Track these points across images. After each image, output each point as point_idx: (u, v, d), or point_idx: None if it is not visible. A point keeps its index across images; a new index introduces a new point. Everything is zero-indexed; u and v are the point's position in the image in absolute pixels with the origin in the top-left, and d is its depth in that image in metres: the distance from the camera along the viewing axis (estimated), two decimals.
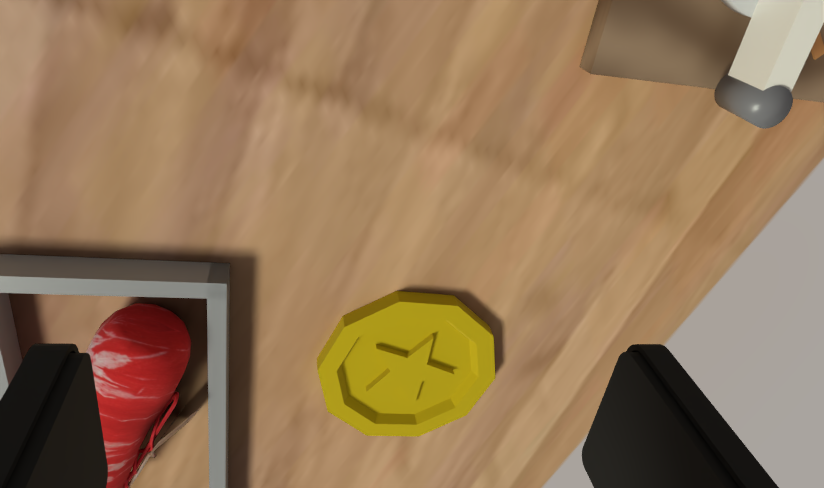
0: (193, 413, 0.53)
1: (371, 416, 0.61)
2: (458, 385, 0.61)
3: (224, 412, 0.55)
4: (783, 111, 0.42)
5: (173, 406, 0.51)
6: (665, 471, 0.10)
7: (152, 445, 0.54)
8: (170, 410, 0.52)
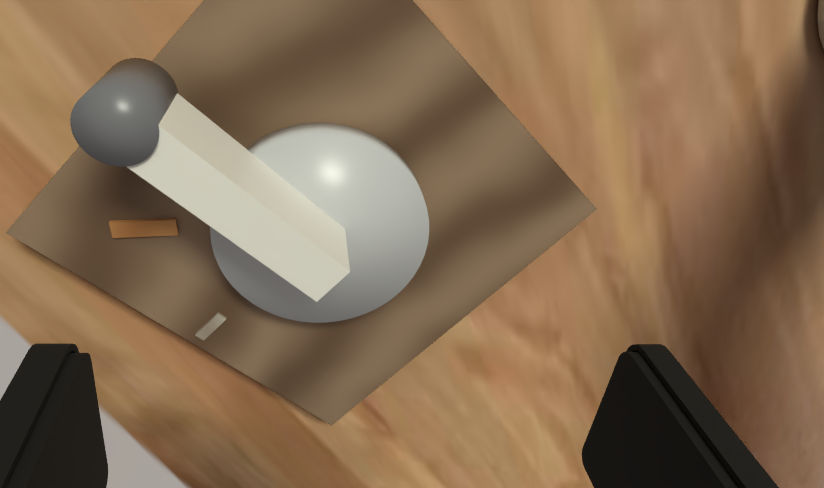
0: None
1: None
2: None
3: None
4: (94, 145, 0.23)
5: None
6: (665, 471, 0.10)
7: None
8: None
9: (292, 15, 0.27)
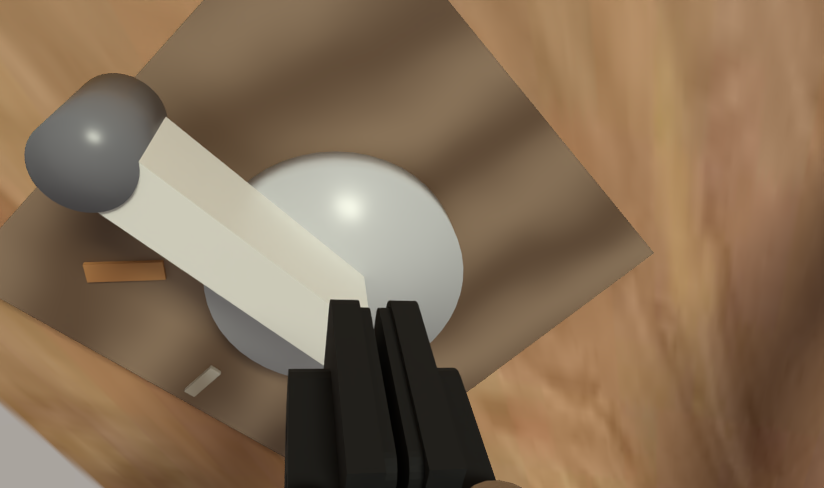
0: None
1: None
2: None
3: None
4: (56, 186, 0.18)
5: None
6: None
7: None
8: None
9: (308, 23, 0.22)
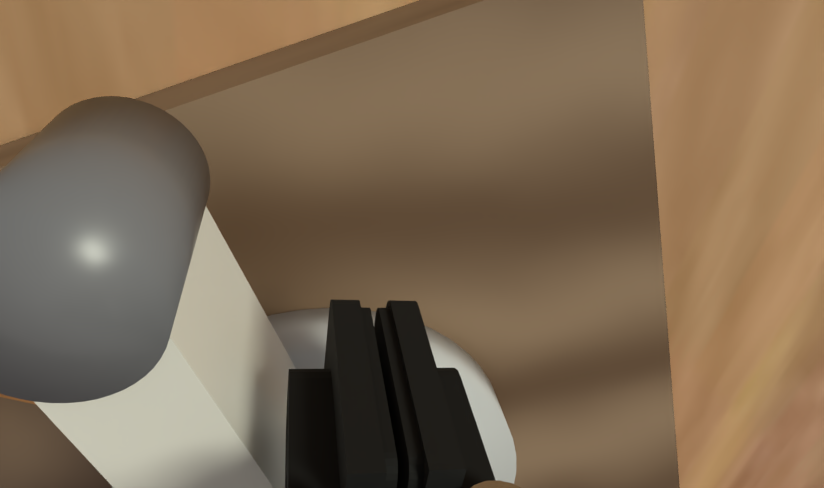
0: None
1: None
2: None
3: None
4: None
5: None
6: None
7: None
8: None
9: (473, 145, 0.14)
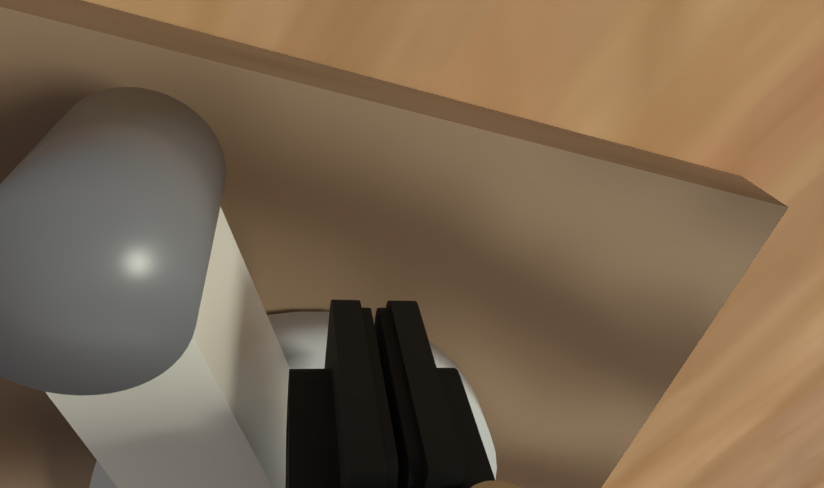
0: None
1: None
2: None
3: None
4: None
5: None
6: None
7: None
8: None
9: (608, 272, 0.17)
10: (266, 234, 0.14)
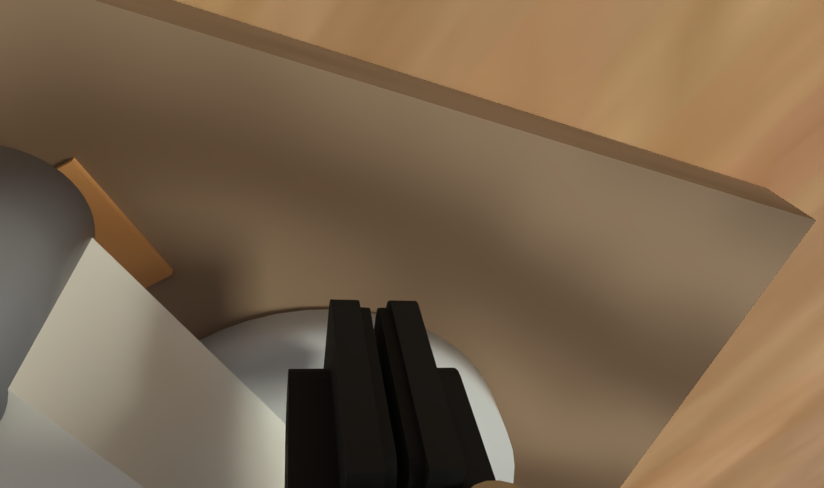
0: None
1: None
2: None
3: None
4: None
5: None
6: None
7: None
8: None
9: (633, 280, 0.17)
10: (294, 229, 0.14)
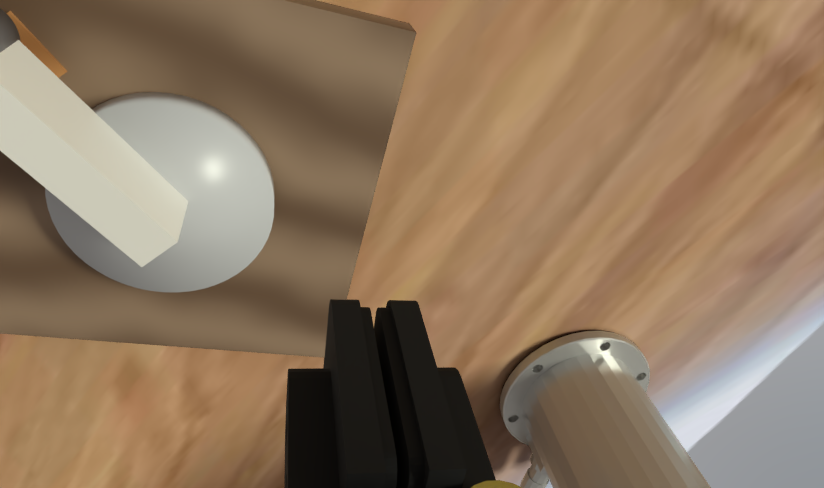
0: None
1: None
2: None
3: None
4: None
5: None
6: None
7: None
8: None
9: (321, 72, 0.31)
10: (124, 46, 0.29)
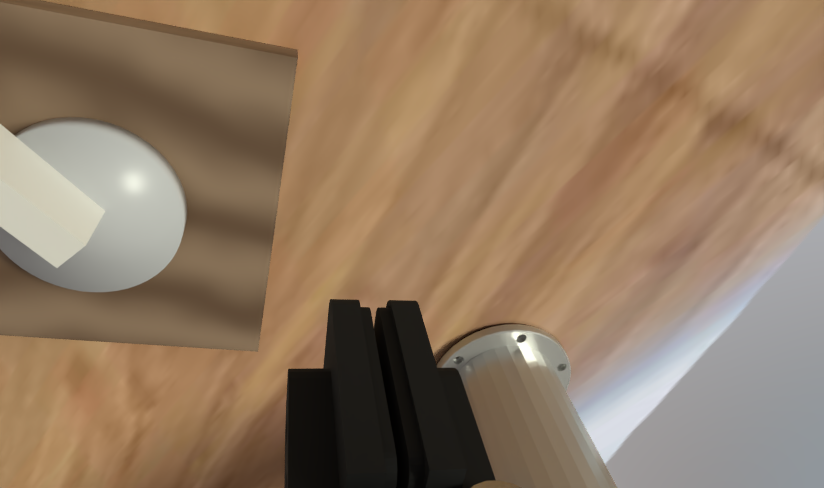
0: None
1: None
2: None
3: None
4: None
5: None
6: None
7: None
8: None
9: (216, 95, 0.35)
10: (40, 78, 0.33)
